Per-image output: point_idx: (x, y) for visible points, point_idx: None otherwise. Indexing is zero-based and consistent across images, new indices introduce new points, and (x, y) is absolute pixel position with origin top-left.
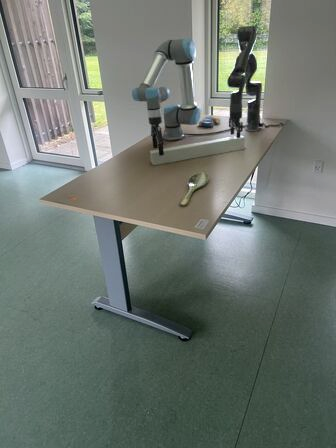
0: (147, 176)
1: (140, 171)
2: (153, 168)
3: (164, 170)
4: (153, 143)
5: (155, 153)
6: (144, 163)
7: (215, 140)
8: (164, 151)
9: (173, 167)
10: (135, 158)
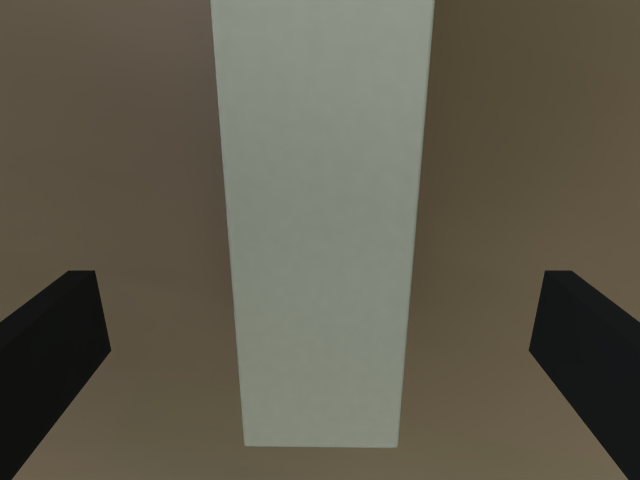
0: None
1: (462, 466)
2: (463, 342)
3: (610, 248)
4: (40, 429)
5: (401, 387)
6: None
7: None
8: (415, 215)
9: (598, 107)
10: (46, 436)
